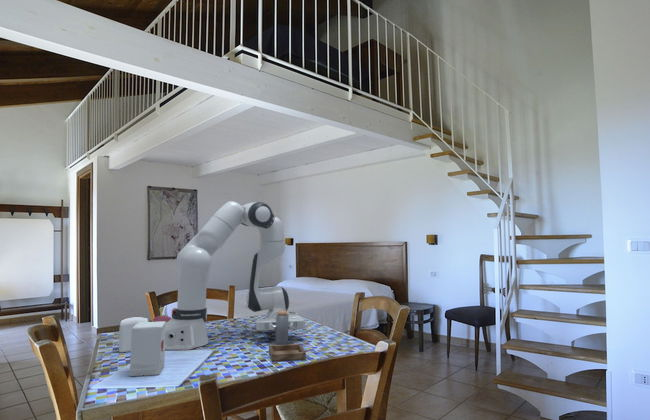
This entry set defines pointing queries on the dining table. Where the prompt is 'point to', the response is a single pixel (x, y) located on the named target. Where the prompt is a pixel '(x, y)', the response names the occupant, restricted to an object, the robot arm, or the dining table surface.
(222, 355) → the dining table surface
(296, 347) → the tray
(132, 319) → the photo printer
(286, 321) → the canister
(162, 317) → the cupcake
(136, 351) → the supplement box
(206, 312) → the robot arm
